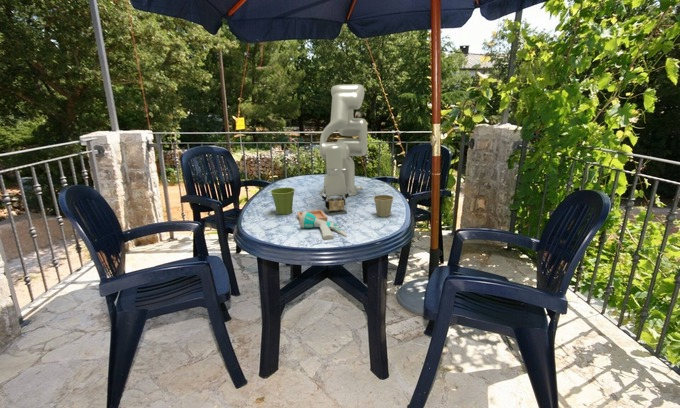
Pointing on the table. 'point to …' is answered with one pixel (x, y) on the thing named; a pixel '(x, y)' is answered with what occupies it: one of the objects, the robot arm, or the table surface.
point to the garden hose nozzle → (310, 221)
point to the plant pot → (283, 200)
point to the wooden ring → (336, 204)
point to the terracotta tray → (317, 214)
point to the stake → (335, 212)
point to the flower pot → (383, 205)
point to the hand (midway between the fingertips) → (335, 207)
